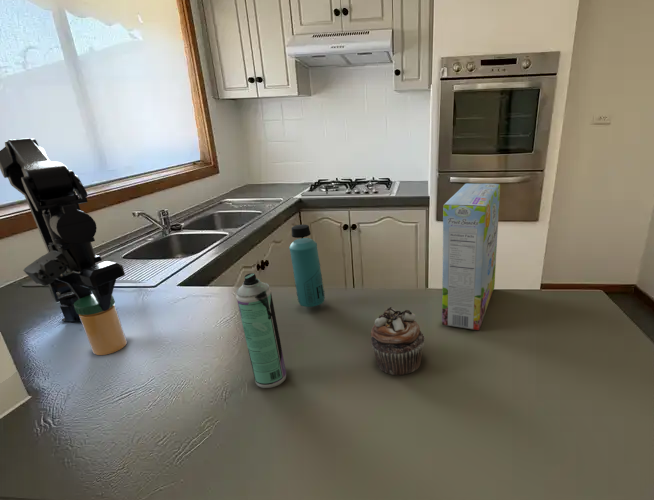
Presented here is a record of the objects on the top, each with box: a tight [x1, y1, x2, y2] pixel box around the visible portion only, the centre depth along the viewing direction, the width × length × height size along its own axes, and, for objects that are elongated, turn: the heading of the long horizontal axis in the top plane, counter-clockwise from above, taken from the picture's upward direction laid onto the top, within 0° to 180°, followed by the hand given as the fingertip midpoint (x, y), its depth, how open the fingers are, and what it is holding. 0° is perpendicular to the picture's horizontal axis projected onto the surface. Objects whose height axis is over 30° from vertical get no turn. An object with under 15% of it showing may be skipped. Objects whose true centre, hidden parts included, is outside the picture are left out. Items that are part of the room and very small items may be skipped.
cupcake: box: [370, 306, 426, 376], centre depth 75 cm, size 10×10×10 cm
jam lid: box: [74, 293, 116, 315], centre depth 86 cm, size 7×7×2 cm
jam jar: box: [79, 304, 128, 356], centre depth 88 cm, size 6×6×10 cm
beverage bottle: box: [288, 223, 326, 308], centre depth 97 cm, size 6×7×20 cm
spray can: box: [235, 272, 287, 389], centre depth 71 cm, size 6×6×20 cm
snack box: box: [441, 182, 501, 331], centre depth 90 cm, size 22×9×26 cm, turn 158°
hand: (96, 307), depth 86 cm, fingers closed on jam lid, 7 cm apart
